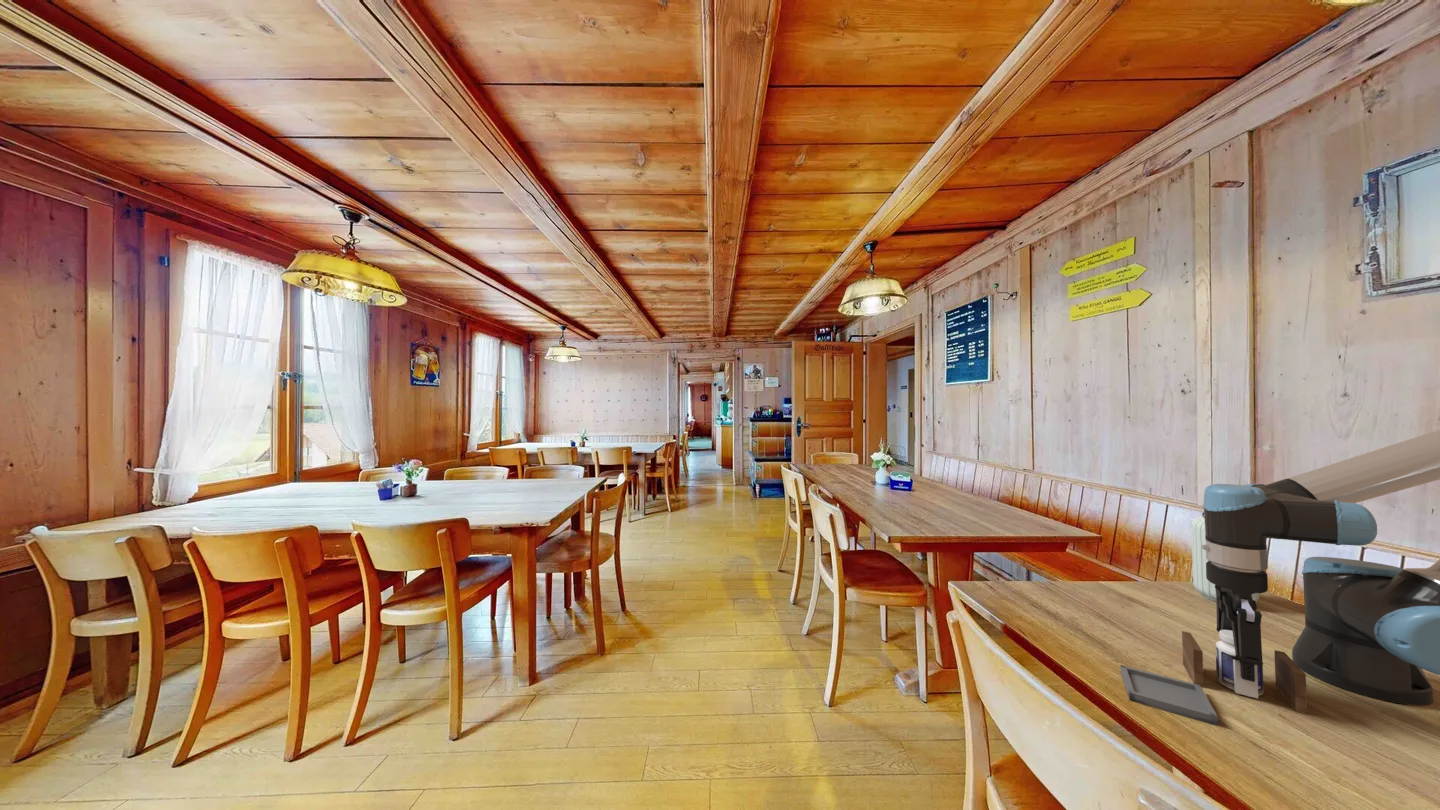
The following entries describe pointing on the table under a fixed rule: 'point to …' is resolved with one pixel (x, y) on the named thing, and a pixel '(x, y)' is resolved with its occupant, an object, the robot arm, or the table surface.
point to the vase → (1203, 561)
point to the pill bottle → (1230, 661)
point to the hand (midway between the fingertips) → (1239, 684)
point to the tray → (1168, 694)
